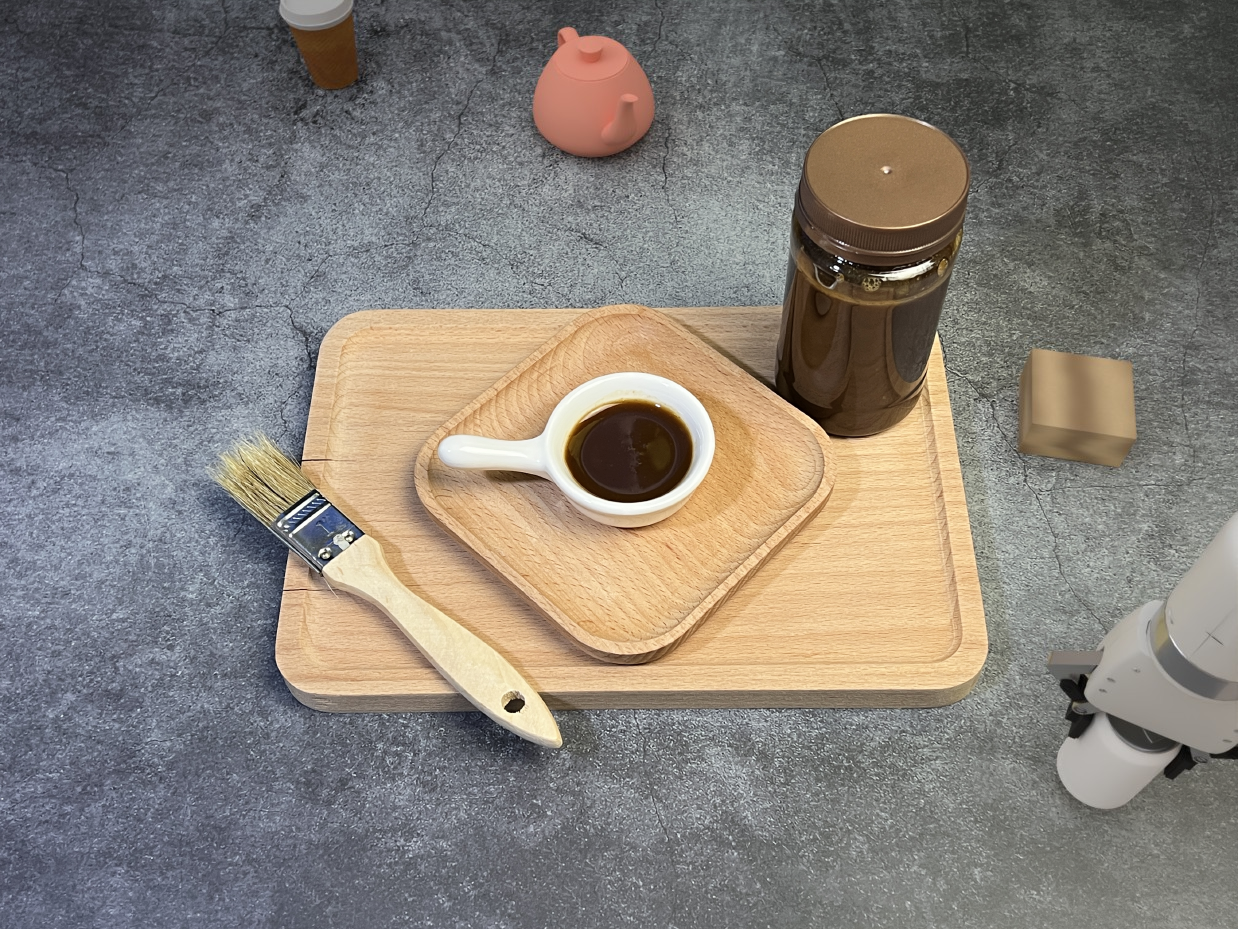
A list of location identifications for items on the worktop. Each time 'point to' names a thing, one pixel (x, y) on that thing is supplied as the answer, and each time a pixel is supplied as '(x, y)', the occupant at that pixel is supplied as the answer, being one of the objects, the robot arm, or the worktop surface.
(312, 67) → the disposable coffee cup
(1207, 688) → the robot arm
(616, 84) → the teapot
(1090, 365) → the block
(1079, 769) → the can
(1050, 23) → the worktop surface
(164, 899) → the worktop surface
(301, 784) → the worktop surface
